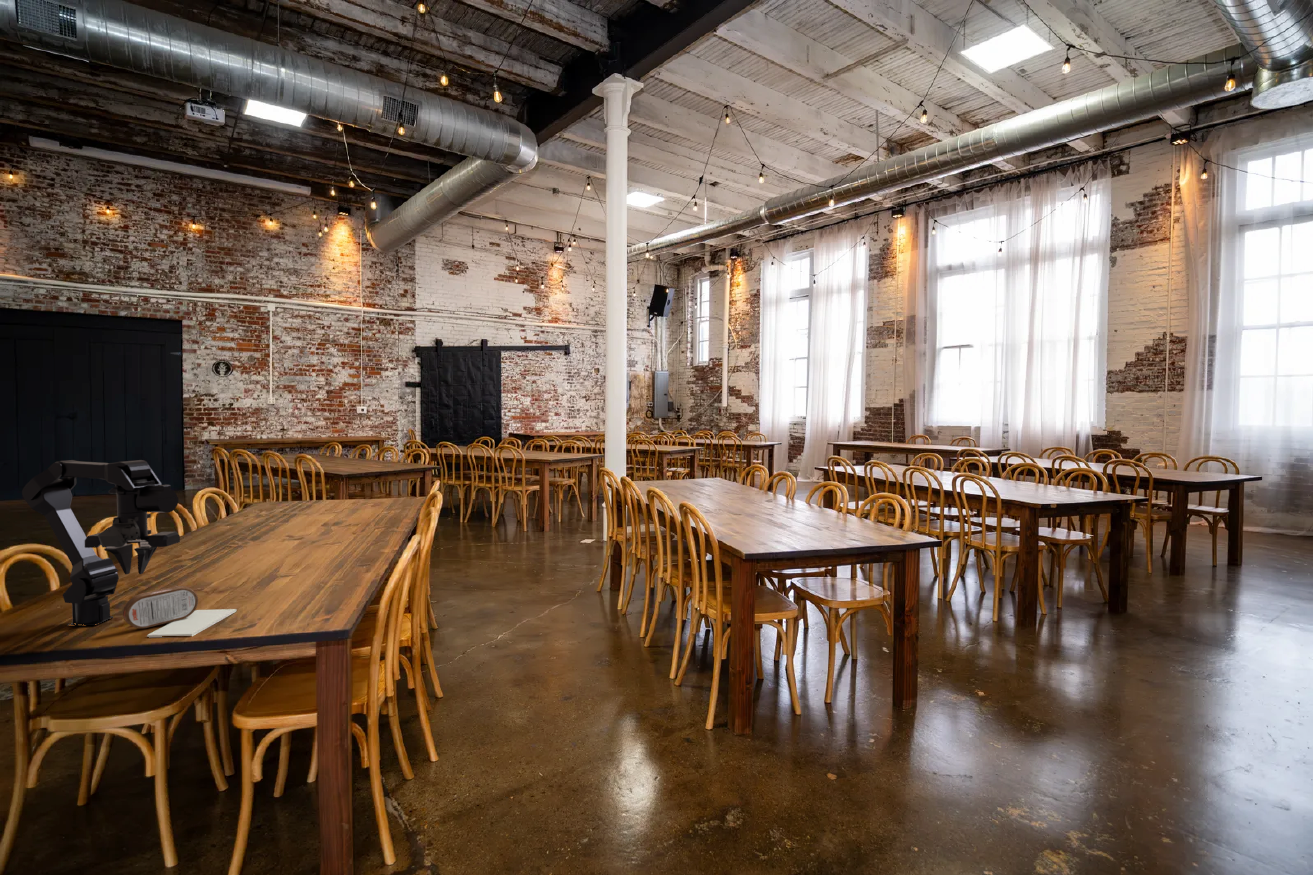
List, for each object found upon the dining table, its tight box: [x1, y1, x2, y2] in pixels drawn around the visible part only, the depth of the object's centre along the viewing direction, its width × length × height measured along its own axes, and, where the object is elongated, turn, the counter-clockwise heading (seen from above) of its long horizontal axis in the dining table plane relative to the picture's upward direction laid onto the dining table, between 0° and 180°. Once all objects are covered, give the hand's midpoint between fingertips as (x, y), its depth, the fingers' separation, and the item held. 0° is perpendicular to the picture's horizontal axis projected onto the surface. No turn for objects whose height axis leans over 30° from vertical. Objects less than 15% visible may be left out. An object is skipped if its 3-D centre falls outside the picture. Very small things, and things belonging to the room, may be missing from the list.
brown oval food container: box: [122, 585, 199, 629], centre depth 161 cm, size 15×3×8 cm, turn 140°
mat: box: [146, 608, 237, 638], centre depth 163 cm, size 10×19×1 cm, turn 5°
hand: (134, 574), depth 160 cm, fingers open, 3 cm apart
